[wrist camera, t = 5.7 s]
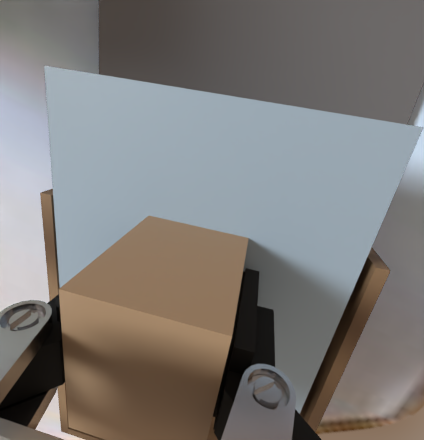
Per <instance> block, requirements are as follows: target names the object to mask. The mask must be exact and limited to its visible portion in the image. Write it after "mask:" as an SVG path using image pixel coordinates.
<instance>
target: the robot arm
mask: <svg viewBox="0 0 424 440" xmlns="http://www.w3.org/2000/svg"><path fill="white" fill-rule="evenodd" d="M258 288H259V271H256V270H252V269H248V268H246V269H245V271H243V274H242V280H241V286H240V292H239V298H238V304H237V310H236V316H235V322H234V328H233V334H232V339H231V343H230V347H229V351H228V355H227V359H226V363H225V368H224V372H223V376H222V380H221V384H220V388H219V392H218V396H217V400H216V404H215V409H214V413H213V417H215V422H214V427H213V430H214V434H215V435H216V437H217V439H218V440H321V439H320V438H319V436H318V435H317V434H316V433H315V431H314V430H313V429H312V428H311V427H310V426H309V424H308V423H307V422H306V421H305V420H304V419H303V417H302V416H301V415H300V414H299V413H298V412H297V410H296V409H295V406H296V392H295V389H294V387H293V384H292V383H291V381H290V380H289V378H288V377H287V376H286V375H285V374H284V373H283V372H282V371H280V370H279V369H277V368H275V337H274V311H273V309H269V308H265V307H261V306H257V304H258ZM64 382H65V370H64V356H63V342H62V328H61V314H60V300H59V294H58V295H57V296H56V297H54V298H53V299H52V300H51V301H50V302H48V303H46V302H43V301H39V300H29V301H22V302H19V303H16V304H13V305H11V306H9V307H7V308H5V309H4V310H2V311H1V312H0V440H63V439H61V438H58V437H55V436H52V435H49V434H46V433H43V432H40V431H37V430H35V429H36V427H37V425H38V423H39V422H40V420H41V418H42V416H43V414H44V413H45V411H46V409H47V407H48V405H49V404H50V402H51V400H52V398H53V396H54V395H55V393H56V390H57V388H58V386H60V385H63V384H64Z"/></svg>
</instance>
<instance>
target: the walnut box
mask: <svg viewBox="0 0 424 440" xmlns="http://www.w3.org/2000/svg"><path fill="white" fill-rule="evenodd" d="M40 195H41V206H42V218H43V229H44V240H45V251H46V263H47V274H48V285H49V297H50V301H51V300H52V299H53V298H54V297H56V296H57V295H58V294H59V288H60V284H59V270H58V256H57V242H56V228H55V213H54V199H53V189H51V190H48V191H44V192H41V193H40ZM389 273H390V270H389V268H388V267H387V266H386V265H385V263H384V262H383V261H382V260H381V258H380V257H379V256H378V255H377V253H376V252H375V251H374V250H373V248H371V250H370V252H369V254H368V257H367V259H366V261H365V264H364V266H363V268H362V271H361V273H360V275H359V278H358V280H357V282H356V285H355V287H354V289H353V292H352V294H351V296H350V298H349V301H348V303H347V305H346V308H345V310H344V312H343V315H342V317H341V319H340V322H339V324H338V326H337V329H336V331H335V333H334V335H333V338H332V340H331V342H330V345H329V347H328V349H327V352H326V354H325V356H324V359H323V361H322V363H321V366H320V368H319V370H318V373H317V375H316V377H315V379H314V382H313V384H312V386H311V389H310V391H309V393H308V396H307V398H306V400H305V403H304V405H303V407H302V410H301V412H300V415H301V416H302V417H303V419H304V420H305V421H306V422H307V423H308V424H309V426H310V427H311V428H312V429H313V430H314V431H315V432H316V430H317V427H318V425H319V423H320V421H321V419H322V417H323V415H324V412H325V410H326V408H327V406H328V404H329V402H330V400H331V397H332V395H333V393H334V391H335V389H336V387H337V385H338V382H339V380H340V378H341V376H342V374H343V372H344V370H345V367H346V365H347V363H348V361H349V359H350V357H351V355H352V352H353V350H354V348H355V346H356V344H357V342H358V339H359V337H360V335H361V333H362V331H363V329H364V327H365V324H366V322H367V320H368V318H369V316H370V314H371V312H372V309H373V307H374V305H375V303H376V301H377V299H378V297H379V294H380V292H381V290H382V288H383V286H384V284H385V282H386V279H387V277H388V275H389ZM58 398H59V410H60V421H61V431H62V432H65V433H68V434H71V435H74V436H77V437H79V438H82V439H85V440H105V439H102V438H99V437H96V436H93V435H90V434H87V433H84V432H81V431H78V430H75V429H72V428H69V425H68V411H67V397H66V384H65V382H64V384H63V385H60V386H58ZM214 422H215V417H212V421H211V425H210V429H209V433H208V437H207V440H218V439H217V437H216V435H215V434H214V430H213V427H214Z"/></svg>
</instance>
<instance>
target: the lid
mask: <svg viewBox="0 0 424 440" xmlns="http://www.w3.org/2000/svg"><path fill="white" fill-rule="evenodd" d="M44 71H45V85H46V100H47V114H48V128H49V142H50V156H51V171H52V185H53V199H54V213H55V228H56V242H57V256H58V270H59V284H60V288H59V300H60V314H61V328H62V342H63V356H64V370H65V384H66V397H67V411H68V425H69V428H72V429H75V430H78V431H81V432H84V433H87V434H90V435H93V436H96V437H99V438H102V439H105V440H207V437H208V433H209V429H210V425H211V421H212V417H213V413H214V409H215V404H216V400H217V396H218V392H219V388H220V384H221V380H222V376H223V372H224V368H225V363H226V359H227V355H228V351H229V347H230V343H231V339H232V334H233V328H234V322H235V316H236V310H237V304H238V298H239V292H240V286H241V280H242V274H243V271H245V269H246V268H248V269H252V270H256V271H259V288H258V304H257V306H261V307H265V308H269V309H273V311H274V337H275V368H277V369H279V370H280V371H282V372H283V373H284V374H285V375H286V376H287V377H288V378H289V380H290V381H291V383H292V384H293V387H294V389H295V392H296V406H295V409H296V410H297V412H298V413H299V414H300V412H301V410H302V407H303V405H304V403H305V400H306V398H307V396H308V393H309V391H310V389H311V386H312V384H313V382H314V379H315V377H316V375H317V373H318V370H319V368H320V366H321V363H322V361H323V359H324V356H325V354H326V352H327V349H328V347H329V345H330V342H331V340H332V338H333V335H334V333H335V331H336V329H337V326H338V324H339V322H340V319H341V317H342V315H343V312H344V310H345V308H346V305H347V303H348V301H349V298H350V296H351V294H352V292H353V289H354V287H355V285H356V282H357V280H358V278H359V275H360V273H361V271H362V268H363V266H364V264H365V261H366V259H367V257H368V254H369V252H370V250H371V248H372V245H373V243H374V241H375V238H376V236H377V234H378V231H379V229H380V227H381V224H382V222H383V220H384V217H385V215H386V213H387V210H388V208H389V206H390V204H391V201H392V199H393V197H394V194H395V192H396V190H397V187H398V185H399V183H400V180H401V178H402V176H403V173H404V171H405V169H406V167H407V164H408V162H409V160H410V157H411V155H412V153H413V150H414V148H415V146H416V143H417V141H418V139H419V136H420V134H421V132H422V129H423V127H418V126H412V125H406V124H400V123H394V122H388V121H381V120H375V119H369V118H363V117H357V116H351V115H345V114H339V113H332V112H326V111H320V110H314V109H308V108H302V107H296V106H290V105H283V104H277V103H271V102H265V101H259V100H253V99H247V98H241V97H234V96H228V95H222V94H216V93H210V92H204V91H198V90H192V89H185V88H179V87H173V86H167V85H161V84H155V83H149V82H143V81H136V80H130V79H124V78H118V77H112V76H106V75H100V74H94V73H87V72H81V71H75V70H69V69H63V68H57V67H51V66H44Z"/></svg>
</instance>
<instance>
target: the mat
mask: <svg viewBox="0 0 424 440" xmlns="http://www.w3.org/2000/svg"><path fill="white" fill-rule="evenodd" d="M99 74H100V75H106V76H112V77H118V78H124V79H130V80H136V81H143V82H149V83H155V84H161V85H167V86H173V87H179V88H185V89H192V90H198V91H204V92H210V93H216V94H222V95H228V96H234V97H241V98H247V99H253V100H259V101H265V102H271V103H277V104H283V105H290V106H296V107H302V108H308V109H314V110H320V111H326V112H332V113H339V114H345V115H351V116H357V117H363V118H369V119H375V120H381V121H388V122H394V123H400V124H406V125H407V124H408V121H409V119H410V116H411V114H412V111H413V109H414V106H415V104H416V101H417V99H418V96H419V94H420V91H421V89H422V86H423V84H424V0H99Z"/></svg>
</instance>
